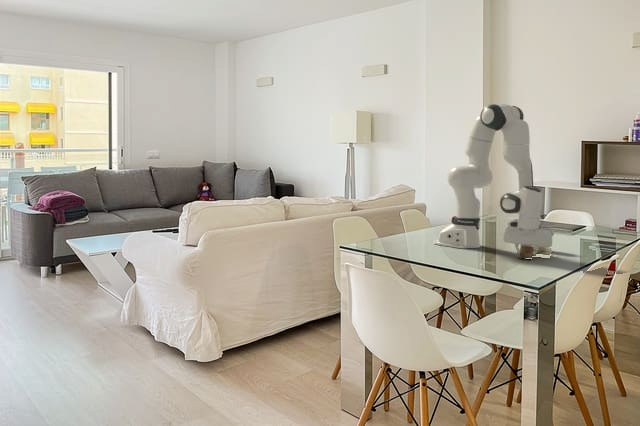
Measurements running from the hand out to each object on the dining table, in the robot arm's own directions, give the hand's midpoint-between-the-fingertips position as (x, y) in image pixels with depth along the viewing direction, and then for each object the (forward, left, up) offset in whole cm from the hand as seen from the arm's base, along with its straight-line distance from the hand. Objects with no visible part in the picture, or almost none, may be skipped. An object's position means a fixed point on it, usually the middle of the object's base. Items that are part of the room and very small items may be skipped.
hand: (526, 254), depth 243 cm
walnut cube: (0, 0, -2) cm, 2 cm away
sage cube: (-2, +14, -2) cm, 14 cm away
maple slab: (+5, +10, -2) cm, 11 cm away
